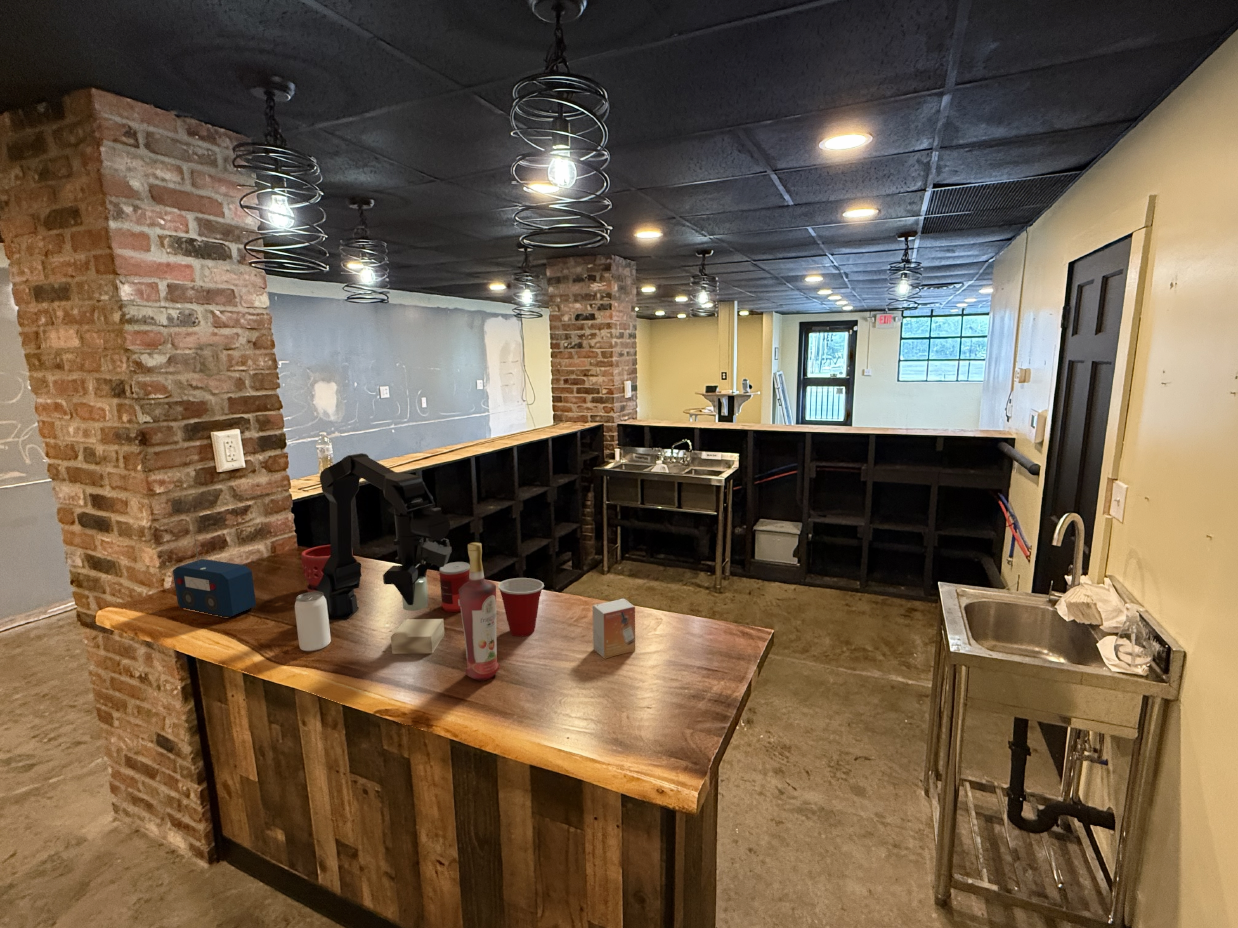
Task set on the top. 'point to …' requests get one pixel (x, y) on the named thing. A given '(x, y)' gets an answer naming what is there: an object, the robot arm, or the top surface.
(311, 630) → the can
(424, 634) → the beech block
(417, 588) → the grey-green rounded piece
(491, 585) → the liquor
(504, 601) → the plastic cup
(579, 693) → the top surface
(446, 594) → the canned food
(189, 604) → the radio
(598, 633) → the small box
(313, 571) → the plant pot
